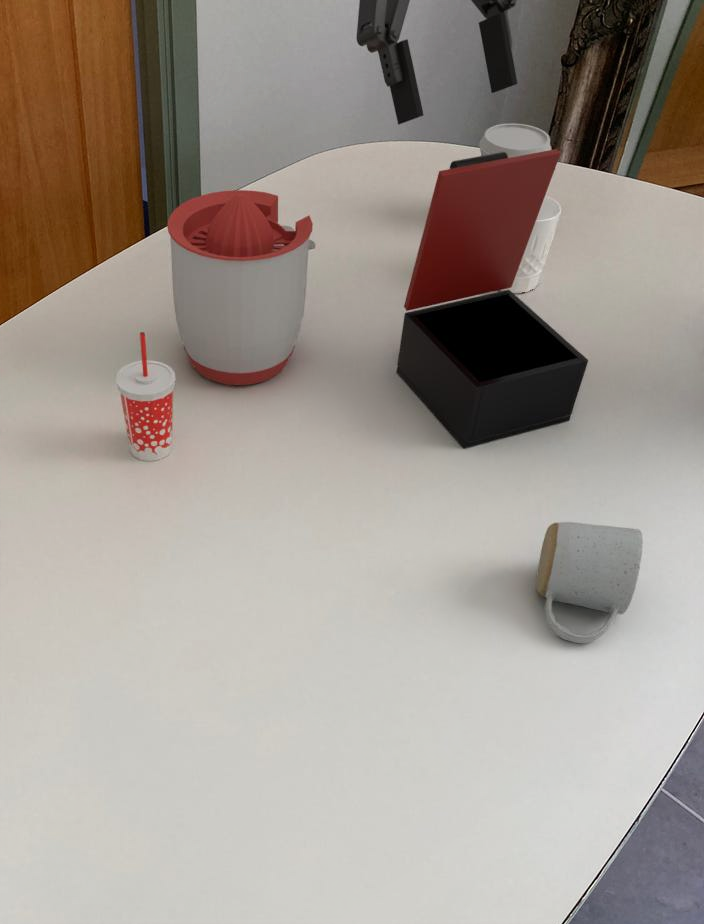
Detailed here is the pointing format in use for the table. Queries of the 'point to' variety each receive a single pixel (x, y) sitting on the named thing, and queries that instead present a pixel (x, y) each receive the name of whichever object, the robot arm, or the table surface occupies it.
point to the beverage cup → (147, 406)
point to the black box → (489, 367)
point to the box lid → (479, 226)
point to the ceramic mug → (588, 571)
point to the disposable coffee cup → (514, 140)
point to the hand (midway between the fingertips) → (459, 104)
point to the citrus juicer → (238, 284)
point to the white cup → (537, 247)
